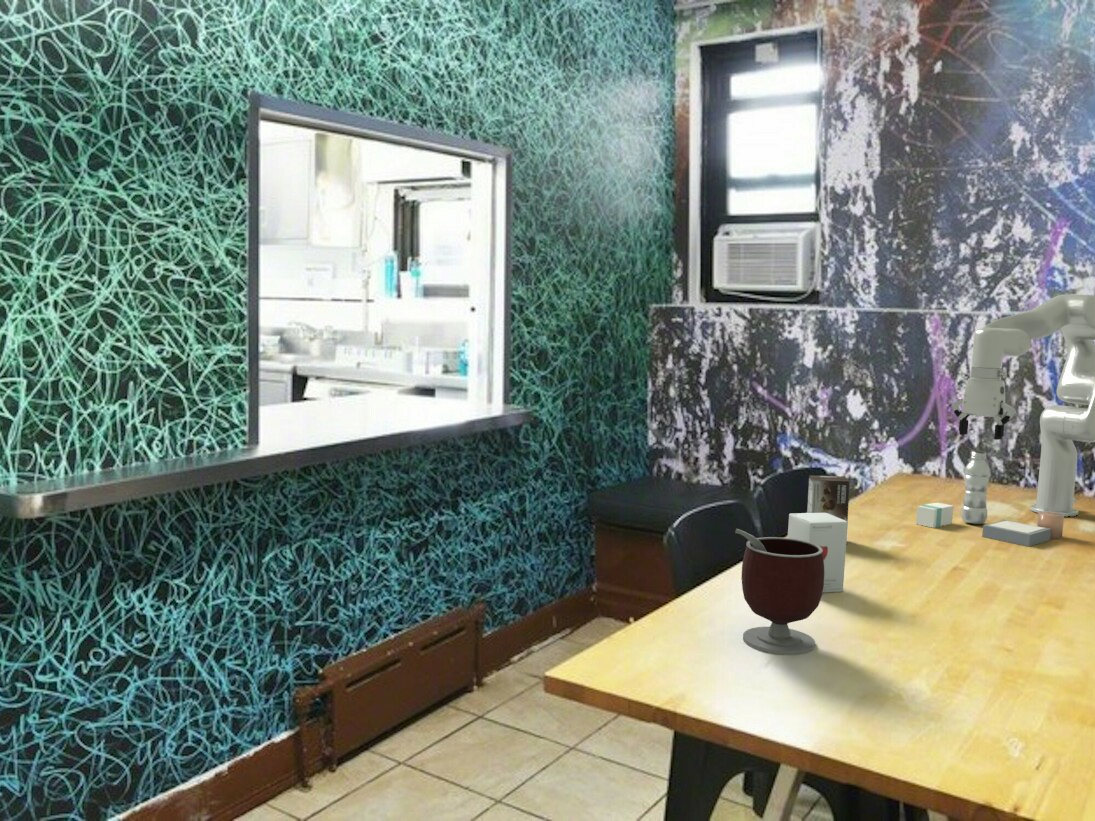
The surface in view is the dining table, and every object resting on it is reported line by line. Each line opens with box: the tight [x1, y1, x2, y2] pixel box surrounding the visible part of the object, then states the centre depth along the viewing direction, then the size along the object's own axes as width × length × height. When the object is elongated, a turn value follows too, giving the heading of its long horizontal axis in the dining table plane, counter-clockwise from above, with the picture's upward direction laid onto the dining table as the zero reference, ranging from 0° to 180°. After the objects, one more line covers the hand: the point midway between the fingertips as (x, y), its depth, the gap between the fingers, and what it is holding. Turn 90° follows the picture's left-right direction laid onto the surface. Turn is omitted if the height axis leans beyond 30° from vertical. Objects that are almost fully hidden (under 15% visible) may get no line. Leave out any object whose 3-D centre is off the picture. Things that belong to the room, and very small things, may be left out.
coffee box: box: [806, 474, 851, 544], centre depth 242 cm, size 9×6×16 cm
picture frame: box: [981, 519, 1051, 547], centre depth 252 cm, size 12×12×3 cm
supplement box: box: [787, 512, 849, 594], centre depth 202 cm, size 9×9×15 cm
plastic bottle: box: [960, 450, 991, 525], centre depth 267 cm, size 6×7×20 cm
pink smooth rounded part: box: [1036, 512, 1065, 540], centre depth 255 cm, size 6×6×6 cm
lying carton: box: [915, 502, 954, 529], centre depth 266 cm, size 10×5×5 cm, turn 129°
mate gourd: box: [735, 528, 825, 656], centre depth 168 cm, size 16×14×20 cm
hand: (980, 436), depth 265 cm, fingers open, 9 cm apart
